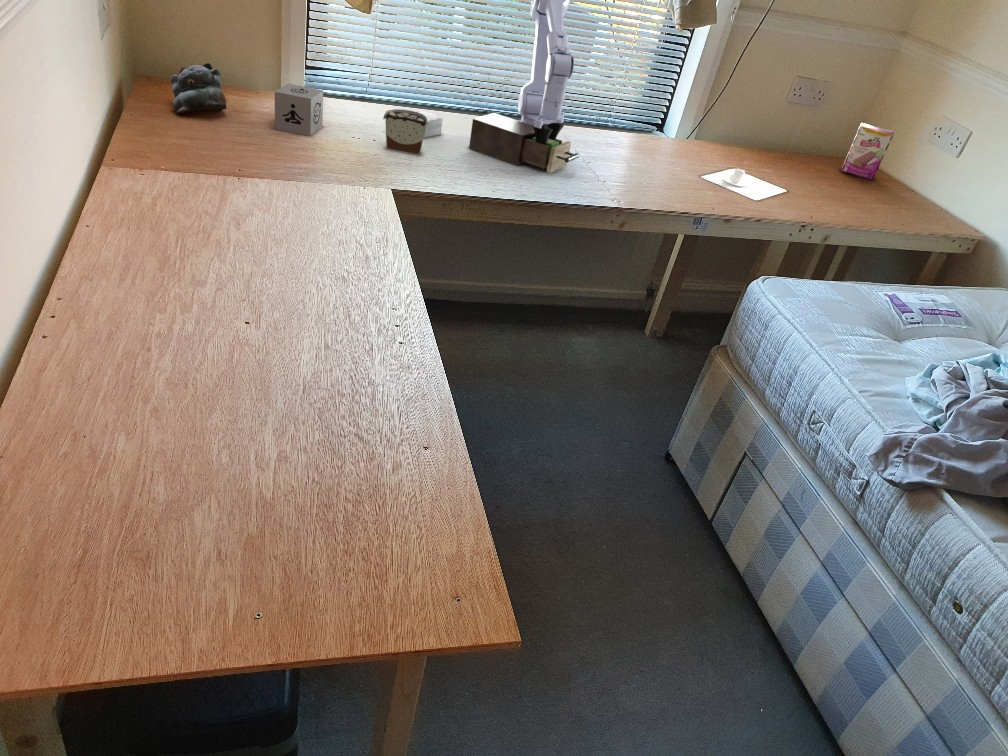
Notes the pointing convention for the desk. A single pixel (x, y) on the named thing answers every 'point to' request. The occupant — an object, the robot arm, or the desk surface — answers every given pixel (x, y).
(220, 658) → the desk surface
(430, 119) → the small box
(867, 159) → the candy bar box
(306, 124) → the icon cube
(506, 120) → the cabinet
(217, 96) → the lucky cat figurine
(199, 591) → the desk surface
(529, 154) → the drawer
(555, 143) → the green block
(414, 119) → the panettone cake
